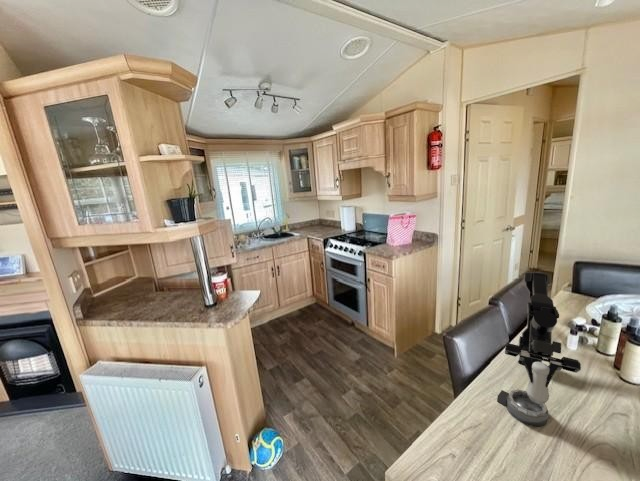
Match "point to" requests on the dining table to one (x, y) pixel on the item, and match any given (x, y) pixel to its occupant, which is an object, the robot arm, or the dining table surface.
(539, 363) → the salt shaker
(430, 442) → the dining table surface
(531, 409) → the grey round shallow dish
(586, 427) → the dining table surface
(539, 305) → the robot arm
